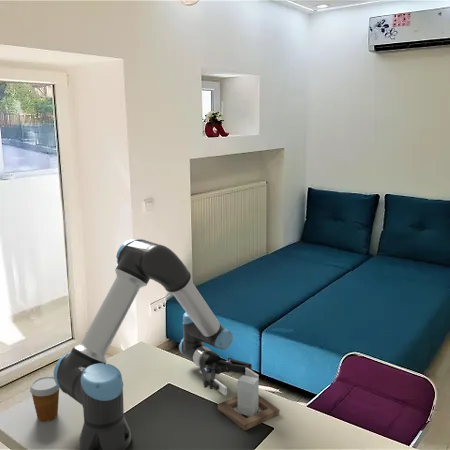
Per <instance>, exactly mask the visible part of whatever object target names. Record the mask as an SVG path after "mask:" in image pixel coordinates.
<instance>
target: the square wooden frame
mask: <svg viewBox="0 0 450 450" xmlns="http://www.w3.org/2000/svg"><path fill="white" fill-rule="evenodd" d="M234 408H238V395H236V396H233V397H230V398H229V399H225V400H224V401H221V402H219V403H217V410H218V411H219V412H220V413H222V414H223V415H225V416H226V417H227V418H228V419H229V420H231V421H232V422H233V423H234V424H236V425H237V426H238V427H239V428H240V429H242V430H243V431H247V430H249V429H252V428H253V427H256V426H258V425H261V424H263V423H265V422H267V421H268V420H271V419H273V418H275V417H278V416H279V415H280V409H279V408H278V407H277V406H275V405H273V404H272V403H271V402H269V401H268V400H266V399H265V398H264V397H262V396H261V395H259V394H258V408H259V409H260V410H261V409H262V411H258V412H257V413H256V414H255V415H253V416H248V417H245V416H243V414H240V413H238V410H236V409H234Z"/></svg>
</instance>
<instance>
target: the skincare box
mask: <svg viewBox="0 0 450 450" xmlns="http://www.w3.org/2000/svg"><path fill="white" fill-rule="evenodd" d="M259 380H260V379H258V378H253V377H249V376H246V375H241V376H240V377H239V378H238V379H237V396H238V406H237V412H238V413H240V414H241V415H245V416H248V417H251V416H253V415H255V414H257V413H259V407H258V395H259V384H260V383H259Z"/></svg>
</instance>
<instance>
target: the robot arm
mask: <svg viewBox="0 0 450 450" xmlns="http://www.w3.org/2000/svg"><path fill="white" fill-rule="evenodd" d="M116 264H117V265H116V268H115V270H114V271H115V274H116V277H115V279H114V281H113V283H112V284H111V287H110V288H109V290H108V292H107V294H106V296H105V298H104V299H103V301H102V303H101V305H100V307H99V309H98V310H97V313H96V315H95V317H94V319H92V322H91V323H90V325H89V327H88V328H87V331H86V332H85V334H84V337H83V338H82V340H81V343H79V344H77V345H74V346H73V347H72V349H71V351H70V352H67V353H65V355H62V356H61V357H60V358H58V360H56V361H57V362H56V363H55V366H54V368H53V377H54V380H55V383H56V385H57V386H58V387H59V390H61V392H63V393H64V394H66V395H68V396H69V397H71V399H73V400H74V401H76V402H77V403H79V404H80V405H81V406H82V410H83V425H82V428H81V432H80V435H79V438H78V442H79V443H78V444H79V450H127V448H128V447H129V446H130V444H131V441H132V436H131V435H132V434H131V429H130V427H129V424H128V422H127V420H126V418H125V412H124V411H125V410H124V380H123V375H122V373H121V370H120V369H119V368H118V367H116V366H115V365H113V364H110V363H108V361H107V358H106V354H107V352H108V350H109V348H110V346H111V345H112V343H113V341H114V338H115V337H116V335H117V333H118V331H119V330H120V327H121V326H122V324H123V321H124V320H125V317H126V315H128V312H129V309H130V308H131V306H132V304H133V303H134V301H135V298H136V297H137V294H138V293H139V291H140V290H141V288H144V287H147V285H148V284H149V282H150V280H152V281H154V282H156V283H158V284H160V285H161V286H162V287H163V288H164V290H165V291H166V292H168V293H171V294H172V295H173V296H174V298H175V299H176V301H177V302H178V303H179V305H180V306H181V308H182V309H183V310H184V311H185V312H184V313H183V315H182V317H183V318H182V330H183V334H182V335H183V338H182V339H181V340H180V343H179V344H178V349H179V352H180V353H181V354H182V355H183V356H184V358H186V359H188V360H189V361H190V362H192V363H193V364H195V365H196V366H197V367H199V376H200V377H201V379H202V383H203V387H204V388H205V389H206V388H208V387H209V389H210V390H212V389H214V390H215V391H218V392H220V393H221V394H223V395H224V396H227V394H228V390H227V389H228V387H227V386H226V385H224V384H223V383H221V382H220V381H219V380H218V379H217V378H216V376H217V375H220V374H222V373H230V372H232V373H238V374H239V373H240V374H245V376H249V377H253V378H258V379H259V378H260V377H259V376H260V375H259V374H258V373H256V372H255V370H254V369H252V364H251V363H248V362H245V361H241V360H238V359H233V357H227V360H223V359H222V358H221V356H220V355H219V354H217V353H216V352H214V351H213V350H212V349H210V347H213V348H215V349H219V350H222V351H225V350H227V349H229V348H230V346H231V345H232V343H233V341H234V336H233V333H232V331H231V330H229V329H228V328H224V327H223V325H222V324H221V323H220V321H219V320H218V319H217V317H216V316H215V314H214V312H213V311H212V309H211V308H210V306H209V305H208V303H207V302H206V301H205V299H204V297H203V296H202V295H201V293H200V292H199V290H198V288H197V287H196V285H195V284H194V283H193V281H192V274H191V272H190V270H189V269H188V268H187V266H186V265H185V264H184V263H183V261H182V260H181V259H180V257H178V255H177V254H176V253H175V252H174V251H173V250H172V249H171V248H169V247H167V246H166V245H163V244H158V243H155V242H152V241H149V240H146V239H143V238H142V239H141V238H139V239H138V238H131V239H128V240H126V241H124V242H123V243H122V244H121V245H120V247H119V248H118V250H117V252H116ZM204 343H205V344H206V345H209V346H210V347H207V346H206V345H204ZM207 374H210V376H209V380H208V375H207ZM259 380H260V379H259Z"/></svg>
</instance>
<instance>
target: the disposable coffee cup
mask: <svg viewBox="0 0 450 450" xmlns="http://www.w3.org/2000/svg"><path fill="white" fill-rule="evenodd" d="M29 392H30V394H31V397H32V401H33V404H34V409H35V413H36V418H37V420H38V421H40V422H42V423H43V422H51V421H53V420H54V419H56V418H57V417H58V415H59V412H58V411H59V402H60V401H59V400H60V399H59V397H60V388H59V387H58V386H57V385H56V383H55V380H54V375H53V376H52V375H51V376H50V375H49V376H48V375H47V376H42V377H41V376H40V377H39V378H37V379H34V380H33V381H32V382H31V384H30V387H29Z"/></svg>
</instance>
